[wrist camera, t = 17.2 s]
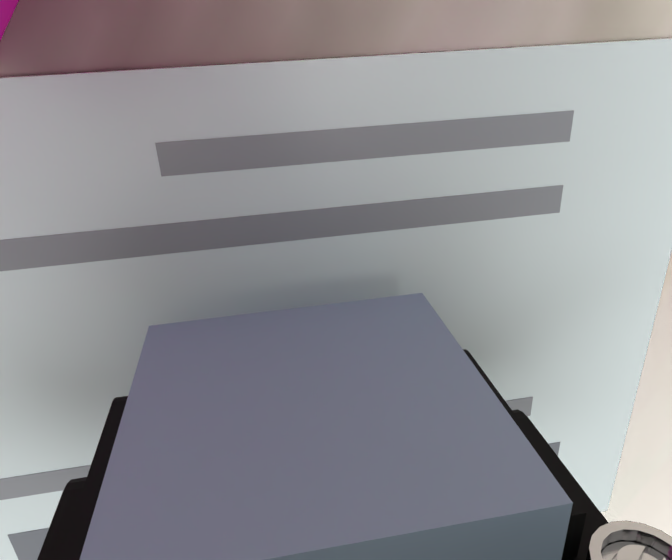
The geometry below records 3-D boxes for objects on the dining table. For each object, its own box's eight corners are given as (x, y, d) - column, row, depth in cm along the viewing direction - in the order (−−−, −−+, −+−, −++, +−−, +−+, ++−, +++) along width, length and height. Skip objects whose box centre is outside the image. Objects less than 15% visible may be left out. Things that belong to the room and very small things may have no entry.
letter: (-332, 97, 8) (-346, 99, 8) (716, 35, 10) (725, 35, 10) (-35, 625, 14) (-38, 633, 13) (603, 504, 16) (607, 510, 16)
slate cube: (149, 325, 9) (69, 595, 5) (422, 292, 10) (572, 502, 6) (194, 524, 11) (168, 838, 7) (417, 487, 12) (522, 751, 8)
